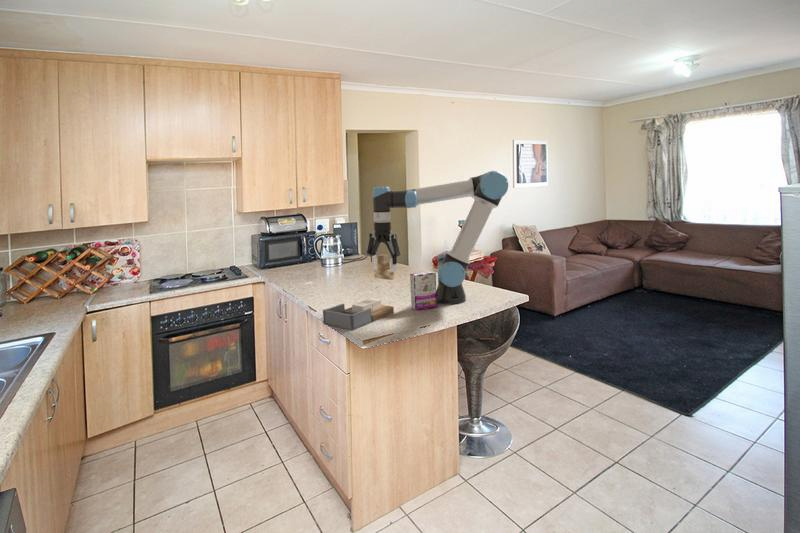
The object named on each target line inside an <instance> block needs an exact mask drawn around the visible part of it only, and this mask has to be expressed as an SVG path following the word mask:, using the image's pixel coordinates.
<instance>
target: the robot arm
mask: <svg viewBox="0 0 800 533" xmlns="http://www.w3.org/2000/svg"><path fill="white" fill-rule="evenodd" d="M508 189H509V181H508V178H507V176H506V175H505V174H504V173H502V172H500V171H497V170H490V171H488V172H485V173H483V174H480V175H476V176H471V177H469V179H467V180H462V181H461V180H460V181H455V182H448V183H443V184H437V185H431V186H425V187H418V188H413V189H406V190H391V189H390V186H375V187H373V190H372V202H373V203H372V207H373V209H372V210H373V221H374V222H373V230H374V232H371V233H369V234H368V236H369V239H368V246H367V250H366V254H367V255H369V256H370V262H371V267H372V268H371V270H372V271H374V269H378V265H377V255H378V254H377V251H378V248H379V247H380V245H381V244H382V243H383V244H385V245H386V247H387V249H388V252H389V255H390V256H391V257H390V270H391V272H394V273H395V272H396V271H397V270H396V267H397V263H398V262H397V259H398V258H397V257H399V256H401V252H400V247H399V244H398V238H397V237H398V236H397V234H396V233H391V230H392V227H391V226H392V222H391V220H392V219H391V217H392V216H391V209H412V208H416V207H417V206H418V205H425V204H432V203H438V202H443V201H444V202H445V201H452V200H456V199H463V198H469V197H471V198H472V199H473V200H474V201H473V203H472V205H471V208H470V210H469V211H468V214H467V216H466V219H465V220H464V223H463V225H462V227H461V229H460V231H459V233H458V235H457V238H456V240H455V242H454V244H453V246H452V248H451V249H450V250H447V251H446V253H440V254H438V255H437V258H436V261H437V286H436V299H437V303H439V304H445V305H446V304H447V305H448V304H451V305H453V304H461V303H464V302H465V301H467V299H466V298H467V296H466V292H465V289H464V286H463V282H464V280H465V279H466V273H467V270H468V268H469V266H470V264H471V261H470V257H471V255H472V253H473V251H474V248H475V246H476V244H477V242H478V240H479V238H480V236H481V233H482V232H483V229H484V228H485V225H486V223H487V221H488V219H489V217H490V215H491V214H492V211H493V209H495V208H497V207H499V204H500V202H501V200H502V199H503V197H504V196H505V195H506V194H507V192H508Z"/></svg>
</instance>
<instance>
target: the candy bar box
mask: <svg viewBox="0 0 800 533" xmlns="http://www.w3.org/2000/svg"><path fill="white" fill-rule="evenodd" d="M436 274H437V273H436V272H434V271H432V270H430V271H423V272H415V273H414V272H413V273H410V274H409V281H410V282H409V283H410V284H409V286H410V301H411V302H410V303H411V304H410V305H411V309H412V310H413V311H421V310H426V309H427V310H428V309H433V308H437V306H438V304H437V303H438V302H437V299H436V290H437V275H436Z"/></svg>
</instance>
